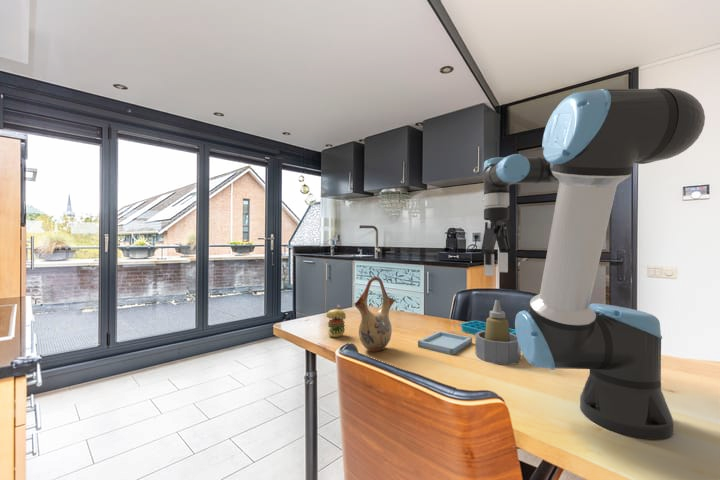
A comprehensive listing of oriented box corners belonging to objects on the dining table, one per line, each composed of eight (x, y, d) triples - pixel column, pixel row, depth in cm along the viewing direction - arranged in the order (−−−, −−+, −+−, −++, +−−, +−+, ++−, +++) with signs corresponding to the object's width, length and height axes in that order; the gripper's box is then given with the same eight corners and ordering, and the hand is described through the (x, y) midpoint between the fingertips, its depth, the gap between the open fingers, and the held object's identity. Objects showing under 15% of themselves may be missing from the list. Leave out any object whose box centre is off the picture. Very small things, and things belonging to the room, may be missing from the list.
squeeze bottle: (512, 355, 105) (512, 299, 105) (509, 363, 99) (509, 304, 98) (486, 350, 110) (486, 297, 110) (481, 358, 103) (481, 301, 103)
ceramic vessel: (362, 358, 103) (361, 279, 103) (348, 350, 111) (347, 277, 111) (402, 349, 111) (402, 276, 111) (387, 342, 119) (386, 274, 119)
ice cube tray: (475, 327, 140) (475, 320, 140) (520, 338, 124) (520, 331, 124) (457, 331, 134) (457, 324, 134) (502, 344, 117) (502, 336, 117)
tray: (452, 355, 106) (452, 349, 106) (417, 346, 114) (417, 341, 114) (472, 343, 118) (471, 337, 118) (439, 336, 126) (439, 331, 126)
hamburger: (324, 337, 125) (323, 306, 125) (329, 332, 132) (329, 303, 132) (343, 339, 123) (343, 307, 123) (348, 333, 130) (347, 303, 130)
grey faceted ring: (513, 367, 95) (512, 345, 95) (469, 357, 103) (469, 337, 103) (524, 355, 105) (524, 335, 105) (484, 347, 113) (484, 328, 113)
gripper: (497, 210, 116) (497, 270, 116) (469, 205, 97) (469, 276, 97) (519, 209, 111) (519, 271, 111) (495, 203, 92) (495, 278, 92)
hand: (496, 273), depth 104 cm, fingers open, 13 cm apart
